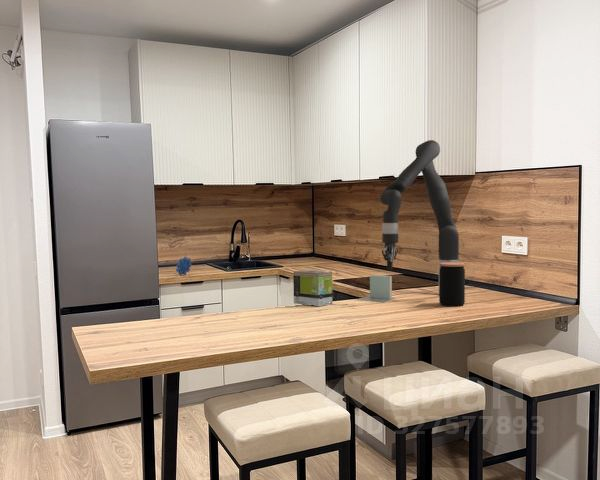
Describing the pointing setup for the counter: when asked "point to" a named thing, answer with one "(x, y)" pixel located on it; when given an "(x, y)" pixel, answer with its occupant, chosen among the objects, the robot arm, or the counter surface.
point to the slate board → (375, 299)
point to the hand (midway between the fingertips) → (389, 269)
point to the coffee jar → (452, 284)
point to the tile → (381, 286)
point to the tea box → (312, 287)
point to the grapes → (183, 266)
